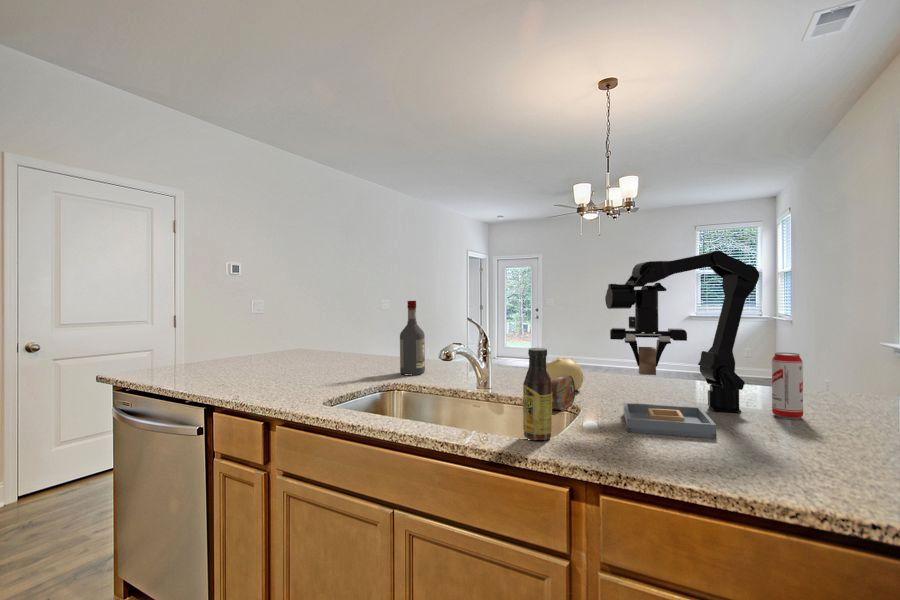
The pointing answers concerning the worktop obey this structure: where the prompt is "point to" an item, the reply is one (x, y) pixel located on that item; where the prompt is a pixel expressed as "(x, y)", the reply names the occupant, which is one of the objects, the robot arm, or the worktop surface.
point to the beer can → (787, 385)
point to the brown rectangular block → (647, 360)
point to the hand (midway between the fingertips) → (647, 366)
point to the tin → (562, 392)
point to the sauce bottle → (537, 397)
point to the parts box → (669, 420)
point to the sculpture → (565, 370)
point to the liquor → (412, 345)
